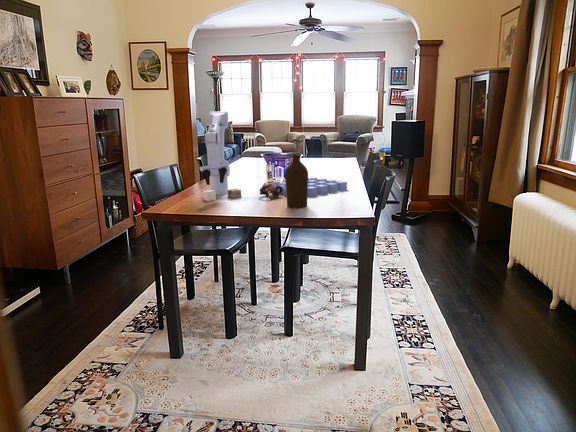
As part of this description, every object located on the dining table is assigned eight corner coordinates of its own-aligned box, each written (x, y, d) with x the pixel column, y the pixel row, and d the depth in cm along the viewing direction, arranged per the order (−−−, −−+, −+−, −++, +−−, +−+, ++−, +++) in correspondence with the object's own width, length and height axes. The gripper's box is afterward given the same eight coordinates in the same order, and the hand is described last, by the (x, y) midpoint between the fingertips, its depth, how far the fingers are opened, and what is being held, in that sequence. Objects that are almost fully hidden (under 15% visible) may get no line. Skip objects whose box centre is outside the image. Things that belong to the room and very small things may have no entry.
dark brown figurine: (266, 202, 223) (259, 187, 224) (262, 206, 232) (256, 192, 233) (287, 193, 227) (280, 179, 228) (283, 198, 236) (276, 184, 237)
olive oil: (312, 207, 208) (311, 153, 202) (291, 209, 204) (290, 154, 198) (302, 202, 217) (301, 151, 211) (282, 205, 213) (281, 152, 207)
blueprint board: (216, 197, 235) (216, 196, 235) (235, 194, 242) (235, 193, 242) (233, 202, 221) (233, 201, 221) (253, 199, 228) (253, 198, 228)
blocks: (299, 200, 226) (298, 190, 225) (259, 191, 252) (258, 182, 251) (347, 190, 247) (347, 181, 246) (305, 183, 273) (305, 175, 272)
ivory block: (204, 200, 228) (203, 190, 227) (212, 199, 231) (211, 189, 229) (208, 201, 224) (207, 192, 223) (216, 200, 227) (215, 190, 226)
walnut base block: (227, 197, 232) (227, 189, 231) (236, 196, 235) (235, 188, 234) (232, 198, 228) (232, 191, 227) (241, 197, 231) (240, 189, 230)
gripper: (203, 158, 214) (205, 186, 217) (230, 155, 222) (231, 182, 226) (197, 157, 219) (199, 184, 223) (223, 154, 228) (224, 181, 231)
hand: (215, 183), depth 225 cm, fingers open, 7 cm apart
